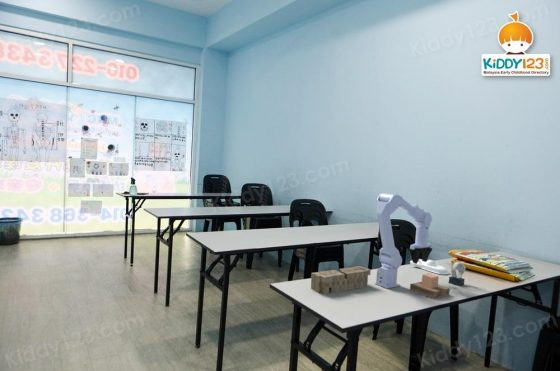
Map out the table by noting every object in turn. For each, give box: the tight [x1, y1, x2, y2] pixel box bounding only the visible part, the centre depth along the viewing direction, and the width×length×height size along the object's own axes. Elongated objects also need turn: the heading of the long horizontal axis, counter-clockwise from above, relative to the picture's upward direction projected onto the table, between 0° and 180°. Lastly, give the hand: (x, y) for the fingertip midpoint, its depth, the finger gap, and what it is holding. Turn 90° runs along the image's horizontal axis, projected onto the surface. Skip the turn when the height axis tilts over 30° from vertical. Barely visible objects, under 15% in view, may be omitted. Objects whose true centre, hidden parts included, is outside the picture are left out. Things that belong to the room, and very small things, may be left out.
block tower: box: [310, 265, 372, 295], centre depth 176 cm, size 8×8×29 cm
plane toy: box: [409, 258, 449, 275], centre depth 215 cm, size 10×20×6 cm, turn 35°
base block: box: [409, 281, 450, 300], centre depth 176 cm, size 12×12×3 cm
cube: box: [421, 272, 440, 289], centre depth 175 cm, size 5×5×5 cm
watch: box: [448, 261, 467, 287], centre depth 191 cm, size 6×8×11 cm
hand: (419, 262), depth 193 cm, fingers open, 7 cm apart
